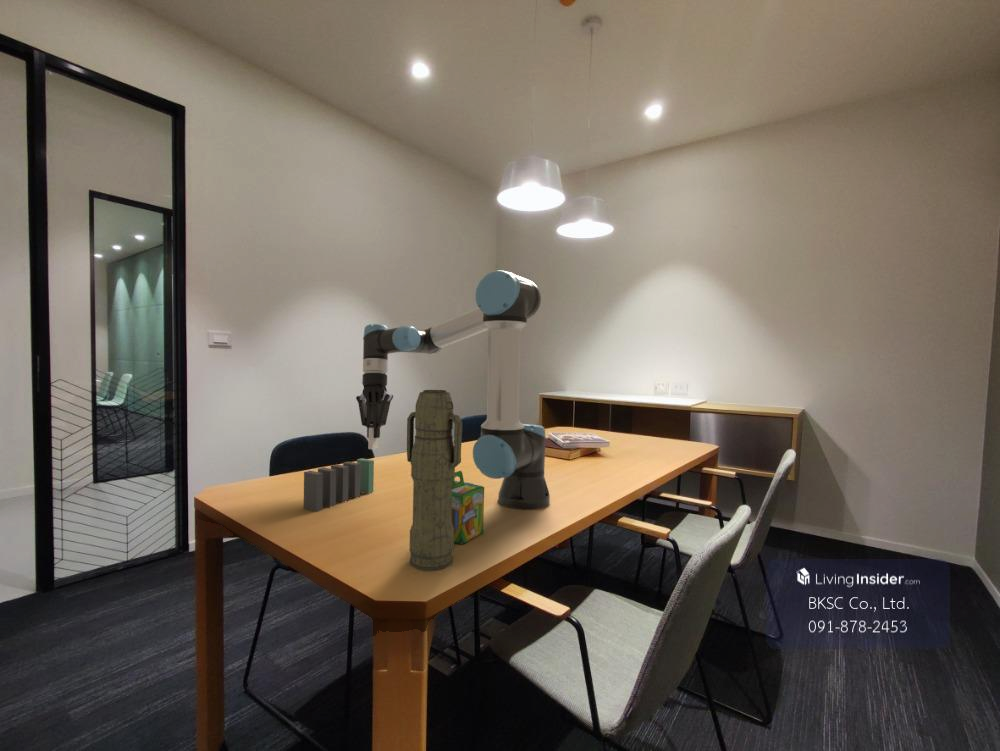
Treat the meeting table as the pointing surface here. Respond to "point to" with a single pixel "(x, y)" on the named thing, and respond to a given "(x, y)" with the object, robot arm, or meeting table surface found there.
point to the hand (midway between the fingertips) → (373, 448)
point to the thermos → (433, 478)
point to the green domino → (366, 475)
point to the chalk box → (467, 509)
